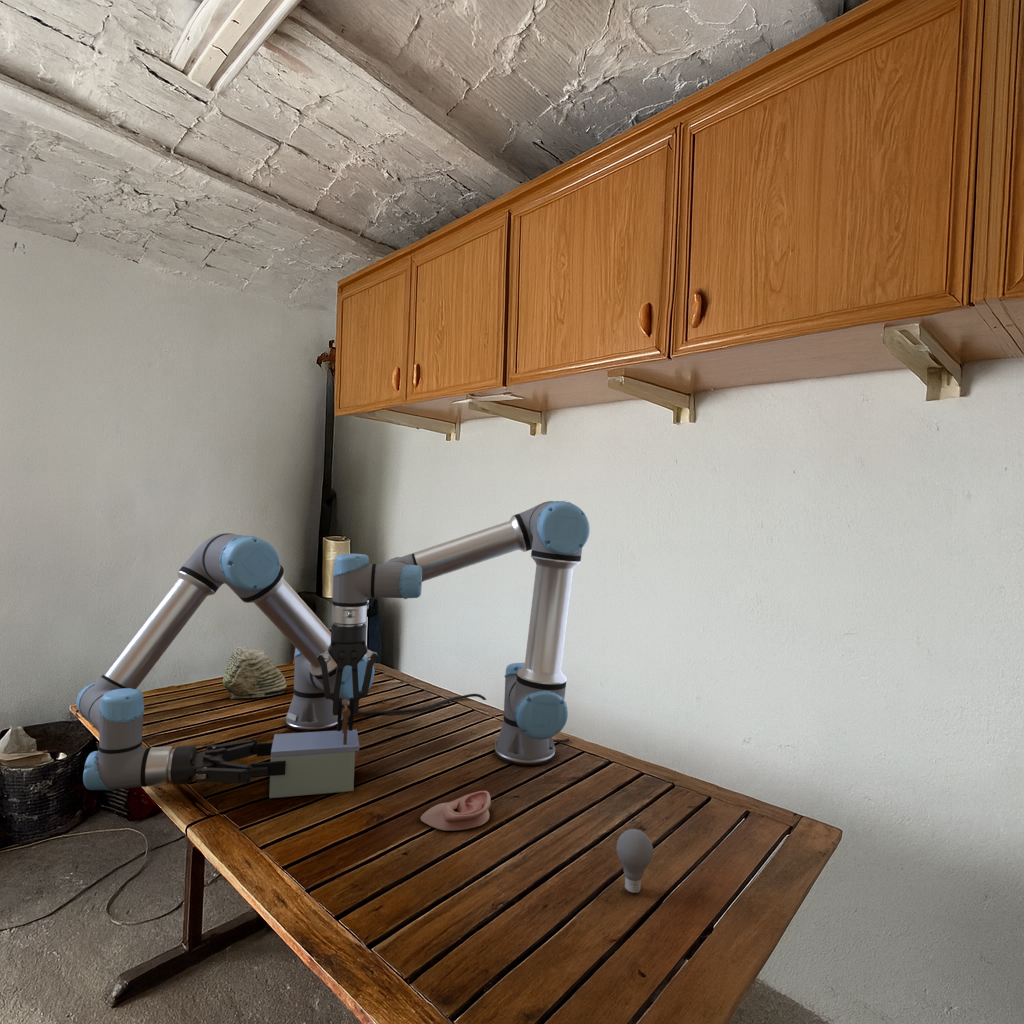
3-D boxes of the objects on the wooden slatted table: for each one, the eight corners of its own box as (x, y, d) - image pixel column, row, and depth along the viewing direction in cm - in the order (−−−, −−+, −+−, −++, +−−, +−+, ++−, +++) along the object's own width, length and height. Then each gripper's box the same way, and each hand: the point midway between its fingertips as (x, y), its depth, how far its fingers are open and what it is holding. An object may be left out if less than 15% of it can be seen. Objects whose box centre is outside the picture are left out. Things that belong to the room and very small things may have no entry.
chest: (351, 771, 147) (352, 734, 147) (353, 791, 137) (355, 751, 137) (272, 777, 142) (274, 739, 142) (269, 798, 132) (270, 757, 132)
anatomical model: (415, 806, 123) (434, 781, 134) (414, 826, 123) (433, 799, 134) (481, 816, 120) (495, 789, 132) (480, 836, 120) (494, 808, 132)
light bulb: (610, 879, 108) (613, 822, 108) (644, 879, 109) (647, 822, 109) (619, 902, 102) (622, 840, 102) (655, 901, 103) (658, 840, 103)
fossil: (218, 695, 195) (220, 647, 195) (278, 685, 208) (279, 640, 207) (228, 703, 189) (230, 653, 188) (289, 692, 201) (290, 645, 201)
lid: (356, 734, 147) (358, 696, 147) (359, 751, 137) (360, 711, 137) (274, 739, 142) (275, 700, 141) (270, 757, 132) (272, 715, 132)
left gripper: (184, 761, 142) (288, 753, 149) (159, 809, 120) (283, 798, 127) (185, 727, 142) (289, 722, 148) (160, 770, 120) (284, 761, 127)
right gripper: (313, 627, 135) (309, 737, 135) (384, 626, 139) (380, 732, 140) (314, 620, 142) (310, 724, 142) (381, 619, 146) (377, 721, 147)
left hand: (286, 757), depth 138 cm, fingers closed on chest, 10 cm apart
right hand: (344, 728), depth 141 cm, fingers closed on lid, 2 cm apart
